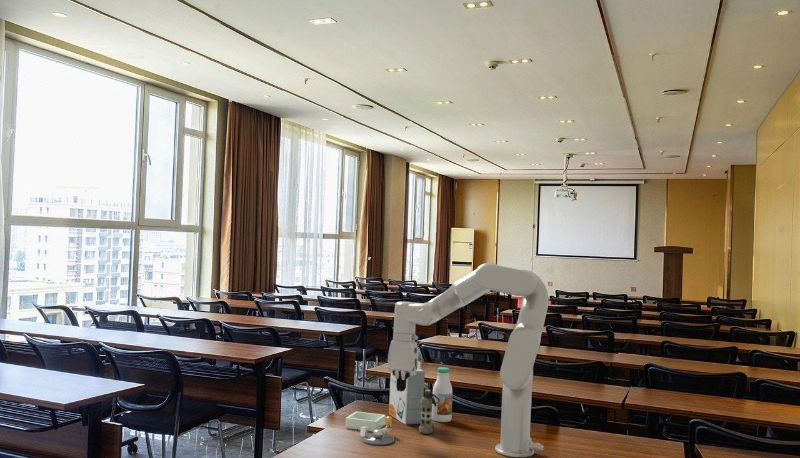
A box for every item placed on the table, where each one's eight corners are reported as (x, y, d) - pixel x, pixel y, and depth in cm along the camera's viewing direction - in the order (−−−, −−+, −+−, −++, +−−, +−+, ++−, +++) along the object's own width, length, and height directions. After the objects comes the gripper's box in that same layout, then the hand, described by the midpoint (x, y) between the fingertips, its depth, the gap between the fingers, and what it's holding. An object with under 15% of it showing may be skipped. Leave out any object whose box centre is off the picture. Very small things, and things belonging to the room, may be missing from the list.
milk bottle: (429, 421, 254) (431, 368, 255) (434, 416, 261) (436, 365, 262) (448, 423, 252) (451, 370, 252) (453, 419, 259) (455, 367, 260)
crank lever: (379, 438, 223) (380, 423, 223) (371, 436, 225) (372, 421, 225) (393, 431, 232) (394, 417, 232) (385, 430, 234) (386, 415, 234)
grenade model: (436, 435, 235) (438, 392, 235) (417, 433, 236) (419, 391, 237) (439, 430, 241) (441, 389, 241) (420, 429, 242) (422, 387, 243)
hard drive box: (388, 414, 261) (390, 363, 262) (405, 413, 264) (407, 363, 265) (405, 425, 247) (407, 371, 248) (423, 423, 250) (425, 370, 251)
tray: (385, 424, 246) (385, 415, 246) (375, 431, 236) (376, 421, 236) (355, 421, 249) (356, 411, 249) (345, 427, 239) (345, 417, 239)
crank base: (398, 438, 229) (398, 426, 229) (387, 447, 218) (388, 434, 218) (366, 434, 232) (367, 422, 232) (355, 442, 222) (355, 430, 222)
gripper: (428, 338, 231) (425, 392, 230) (390, 334, 238) (387, 385, 237) (418, 341, 224) (415, 395, 224) (379, 336, 231) (376, 389, 231)
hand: (400, 390), depth 230 cm, fingers closed
